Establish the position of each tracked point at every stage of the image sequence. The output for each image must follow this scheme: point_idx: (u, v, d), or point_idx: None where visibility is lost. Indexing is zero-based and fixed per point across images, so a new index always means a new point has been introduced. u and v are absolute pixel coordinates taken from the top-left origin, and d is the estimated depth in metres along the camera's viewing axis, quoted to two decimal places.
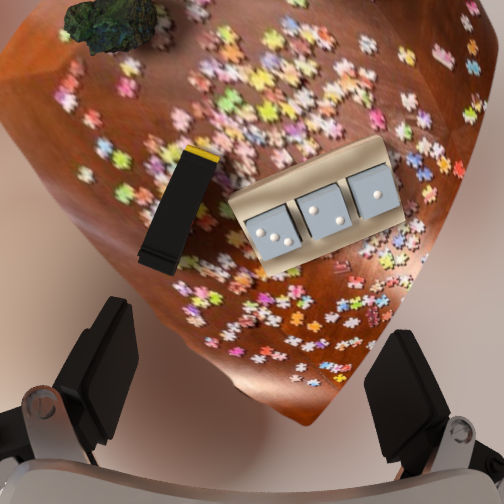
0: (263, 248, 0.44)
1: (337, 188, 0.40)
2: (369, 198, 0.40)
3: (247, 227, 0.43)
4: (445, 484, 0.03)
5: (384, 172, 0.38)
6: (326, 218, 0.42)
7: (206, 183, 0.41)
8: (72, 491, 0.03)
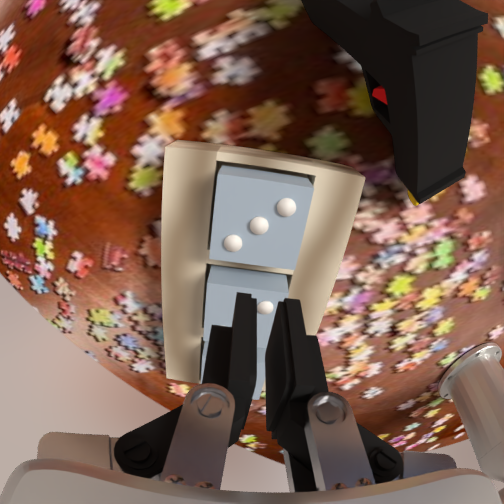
0: (248, 191, 0.19)
1: None
2: None
3: (312, 190, 0.19)
4: (445, 484, 0.03)
5: (257, 394, 0.28)
6: None
7: (420, 178, 0.19)
8: (72, 492, 0.03)
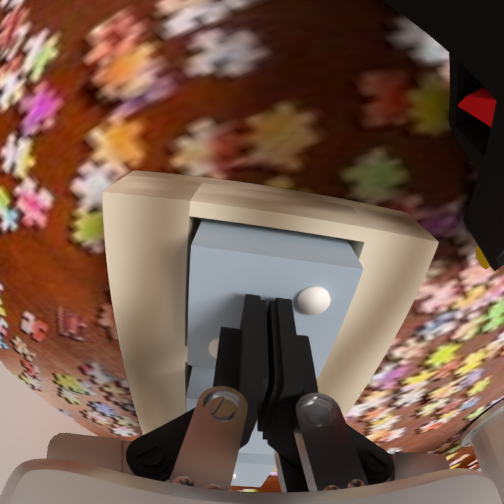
0: (248, 275, 0.10)
1: None
2: None
3: (359, 271, 0.10)
4: (445, 484, 0.03)
5: (259, 483, 0.20)
6: None
7: None
8: (73, 491, 0.03)
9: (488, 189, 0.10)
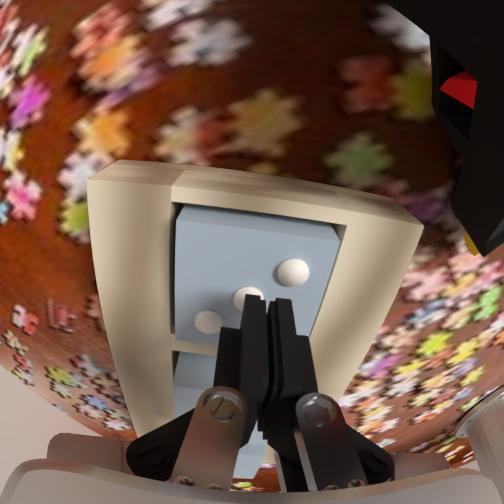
0: (230, 247, 0.11)
1: None
2: None
3: (336, 244, 0.11)
4: (445, 484, 0.03)
5: (251, 475, 0.20)
6: None
7: (498, 227, 0.10)
8: (72, 492, 0.03)
9: (473, 173, 0.10)
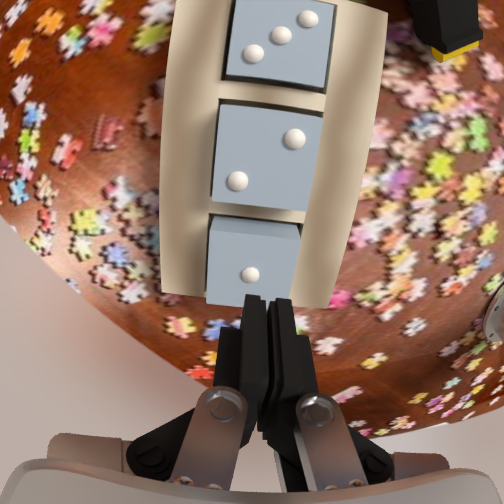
0: (269, 4, 0.14)
1: None
2: (251, 257, 0.21)
3: (332, 7, 0.14)
4: (445, 484, 0.03)
5: None
6: (260, 155, 0.17)
7: (441, 18, 0.13)
8: (72, 492, 0.03)
9: None
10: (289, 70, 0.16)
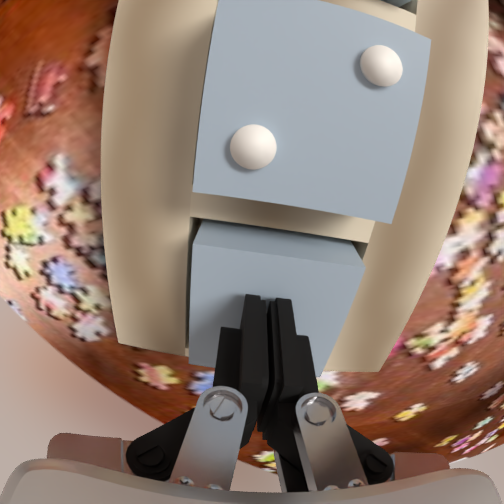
0: None
1: None
2: (270, 296, 0.11)
3: None
4: (445, 484, 0.03)
5: (320, 363, 0.13)
6: (307, 92, 0.07)
7: None
8: (72, 492, 0.03)
9: None
10: None
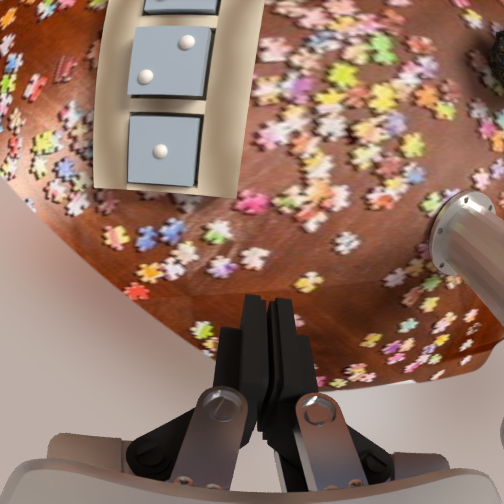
0: None
1: (199, 93, 0.21)
2: (160, 136, 0.24)
3: None
4: (445, 484, 0.03)
5: (189, 175, 0.26)
6: (162, 56, 0.19)
7: None
8: (72, 492, 0.03)
9: None
10: (188, 1, 0.18)
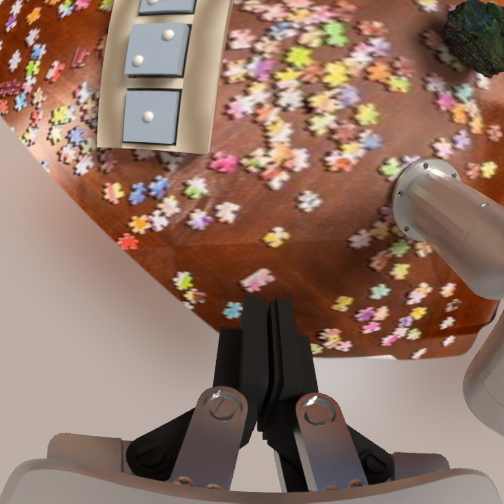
0: None
1: (177, 72, 0.27)
2: (148, 105, 0.29)
3: None
4: (445, 484, 0.03)
5: (169, 135, 0.31)
6: (150, 46, 0.25)
7: None
8: (73, 491, 0.03)
9: None
10: (171, 4, 0.24)
